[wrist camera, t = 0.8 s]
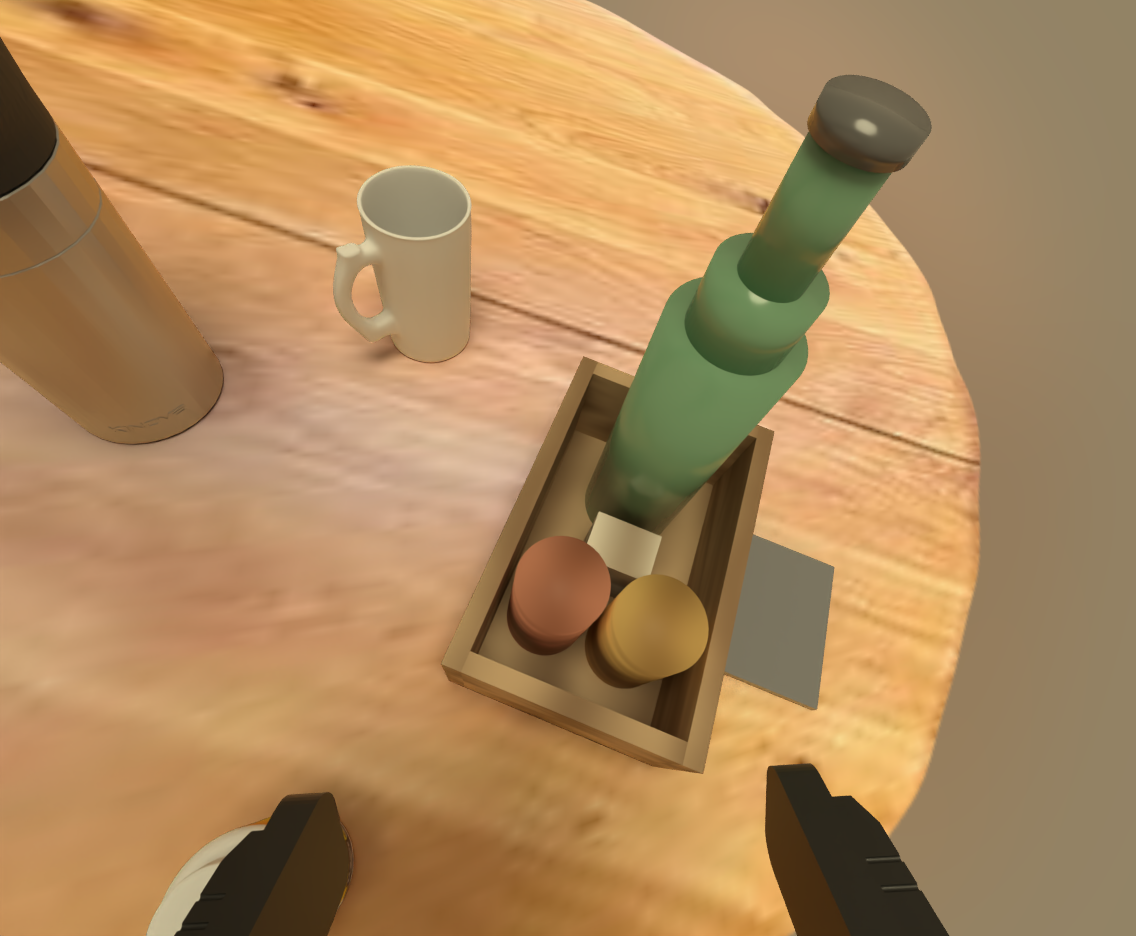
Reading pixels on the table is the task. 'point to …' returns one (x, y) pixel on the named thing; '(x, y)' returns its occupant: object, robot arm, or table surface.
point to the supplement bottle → (208, 878)
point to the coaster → (781, 623)
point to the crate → (612, 595)
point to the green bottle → (750, 310)
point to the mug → (412, 262)
